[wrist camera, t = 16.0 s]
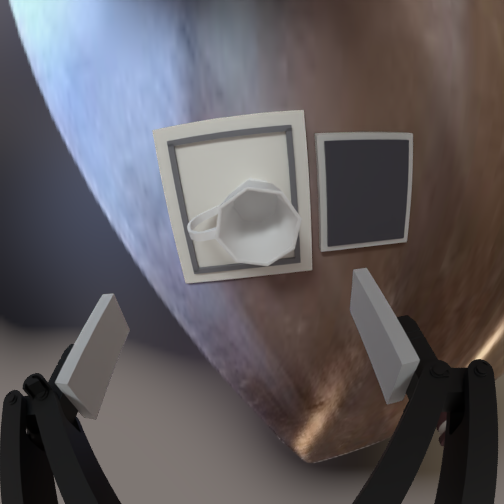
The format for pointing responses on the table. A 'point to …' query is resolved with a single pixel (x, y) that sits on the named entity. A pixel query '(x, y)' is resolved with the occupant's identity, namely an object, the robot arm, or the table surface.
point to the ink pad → (363, 188)
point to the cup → (252, 224)
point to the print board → (233, 184)
